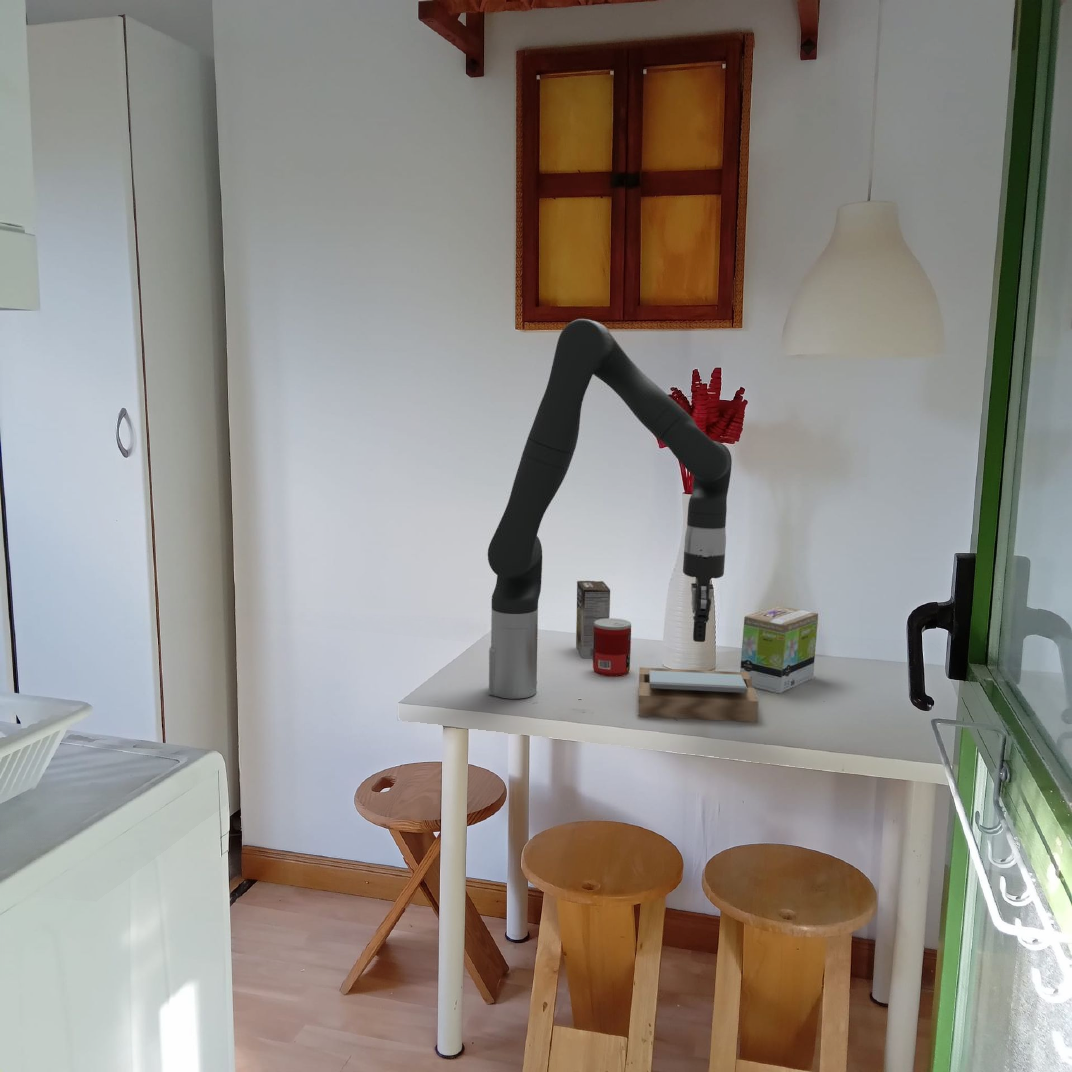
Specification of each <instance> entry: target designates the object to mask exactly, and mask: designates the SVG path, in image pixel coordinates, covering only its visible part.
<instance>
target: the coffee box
mask: <svg viewBox="0 0 1072 1072" xmlns="http://www.w3.org/2000/svg"><path fill="white" fill-rule="evenodd" d="M610 606H611V589H610V587H608V585H607V584H606V583H605V582H604V581H603V580H599V581H597V580H596V581H594V580H576V631H575V633H576V634H575V648H576V650H577V652H578V654H579V655H580V657H581V659H593V640H594V622H595V621H596V620H599V619H606V618H610V616H611V615H610V613H611V611H610V610H611V609H610V608H611V607H610Z"/></svg>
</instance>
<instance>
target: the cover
mask: <svg viewBox="0 0 1072 1072" xmlns="http://www.w3.org/2000/svg"><path fill="white" fill-rule="evenodd" d="M649 678H650V688H660V689H680V690H700V691H720V692H740V693H747V687H746V684H745V682H744V680H743V678H742V676H741V675H735V674H714V673H693V672H672V671H651V670H650V671H649Z"/></svg>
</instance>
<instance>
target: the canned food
mask: <svg viewBox="0 0 1072 1072" xmlns="http://www.w3.org/2000/svg"><path fill="white" fill-rule="evenodd" d="M631 643H632V622H631V621H629V620H626V619H622V618H611V617H609V618H606V619H599V620H596V621H595V622H594V640H593V658H592V670H593V672H594V673H595V674H597V675H598V676H604V677H609V678H610V677H611V678H612V677H614V678H615V677H616V678H618V677H624V676H627V675H628V674H629V672H630V668H631V645H632V644H631Z"/></svg>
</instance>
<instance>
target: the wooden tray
mask: <svg viewBox="0 0 1072 1072" xmlns="http://www.w3.org/2000/svg"><path fill="white" fill-rule="evenodd" d="M650 670H651V671H672V672H693V673H714V674H735V675H741V676H742V678H743V680H744V682H745V684H746V687H747V693H740V692H720V691H700V690H680V689H660V688H650V678H649V671H650ZM638 672H639V673H638V704H637V705H638V707H637V709H638V710H637V716H638V717H653V718H654V717H657V718H658V717H659V718H671V719H672V718H674V719H676V718H677V719H693V720H695V719H696V720H709V721H710V720H712V721H713V720H714V721H715V720H716V721H728V722H729V721H730V722H731V721H732V722H750V723H757V722H758V713H759V712H758V710H759V709H758V708H759V699H758V697H757V693H756V691H755V689H754V688H755V687H753V685H752V682H751V679H750V676H749V673H747V672H740V671H721V670H705V669H704V670H703V669H702V670H701V669H699V670H698V669H684V668H683V669H680V668H679V669H678V668H659V667H658V668H657V667H639V671H638Z"/></svg>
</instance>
